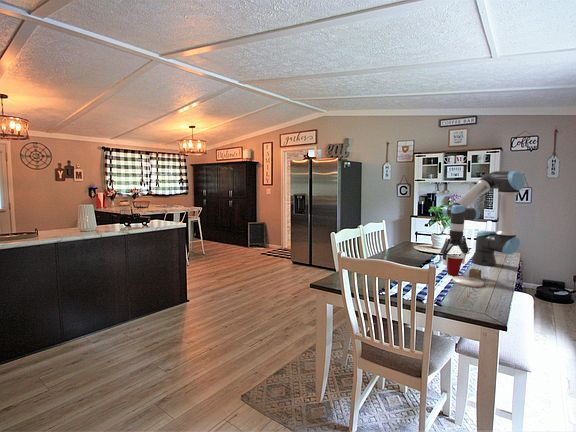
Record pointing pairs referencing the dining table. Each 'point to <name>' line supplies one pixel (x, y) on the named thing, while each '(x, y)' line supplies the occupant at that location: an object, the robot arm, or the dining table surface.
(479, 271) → the walnut block
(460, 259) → the plastic cup
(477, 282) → the disc
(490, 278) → the dining table surface
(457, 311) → the dining table surface
